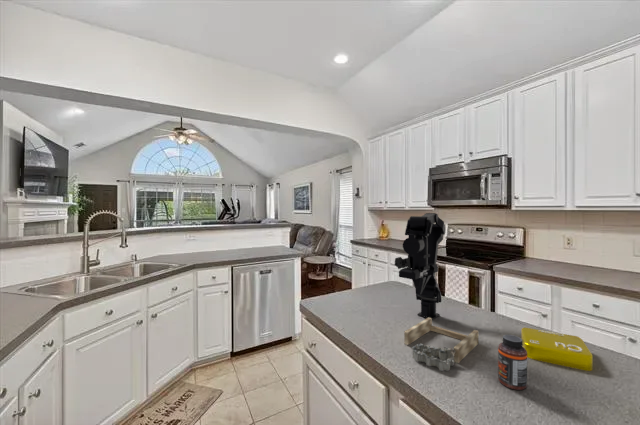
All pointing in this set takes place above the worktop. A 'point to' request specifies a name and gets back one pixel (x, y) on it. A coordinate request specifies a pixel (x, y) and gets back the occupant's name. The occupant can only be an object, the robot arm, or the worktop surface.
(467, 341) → the open wooden frame
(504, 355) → the supplement bottle
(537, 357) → the element tile
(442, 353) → the egg carton
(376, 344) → the worktop surface
